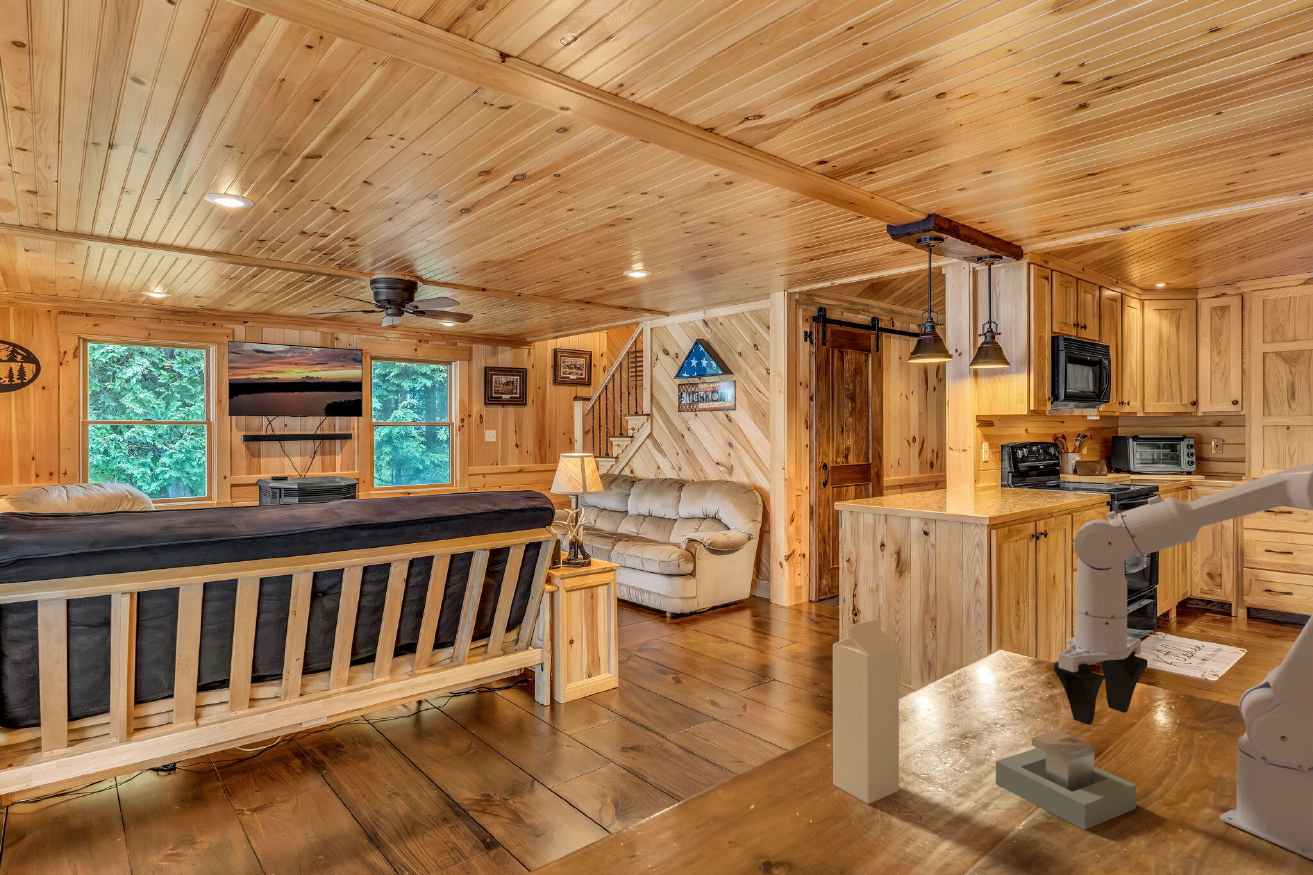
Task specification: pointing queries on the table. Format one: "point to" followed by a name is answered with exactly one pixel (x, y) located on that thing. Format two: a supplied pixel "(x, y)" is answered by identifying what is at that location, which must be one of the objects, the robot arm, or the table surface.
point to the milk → (866, 713)
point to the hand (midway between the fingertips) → (1100, 715)
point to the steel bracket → (1067, 759)
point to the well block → (1075, 807)
